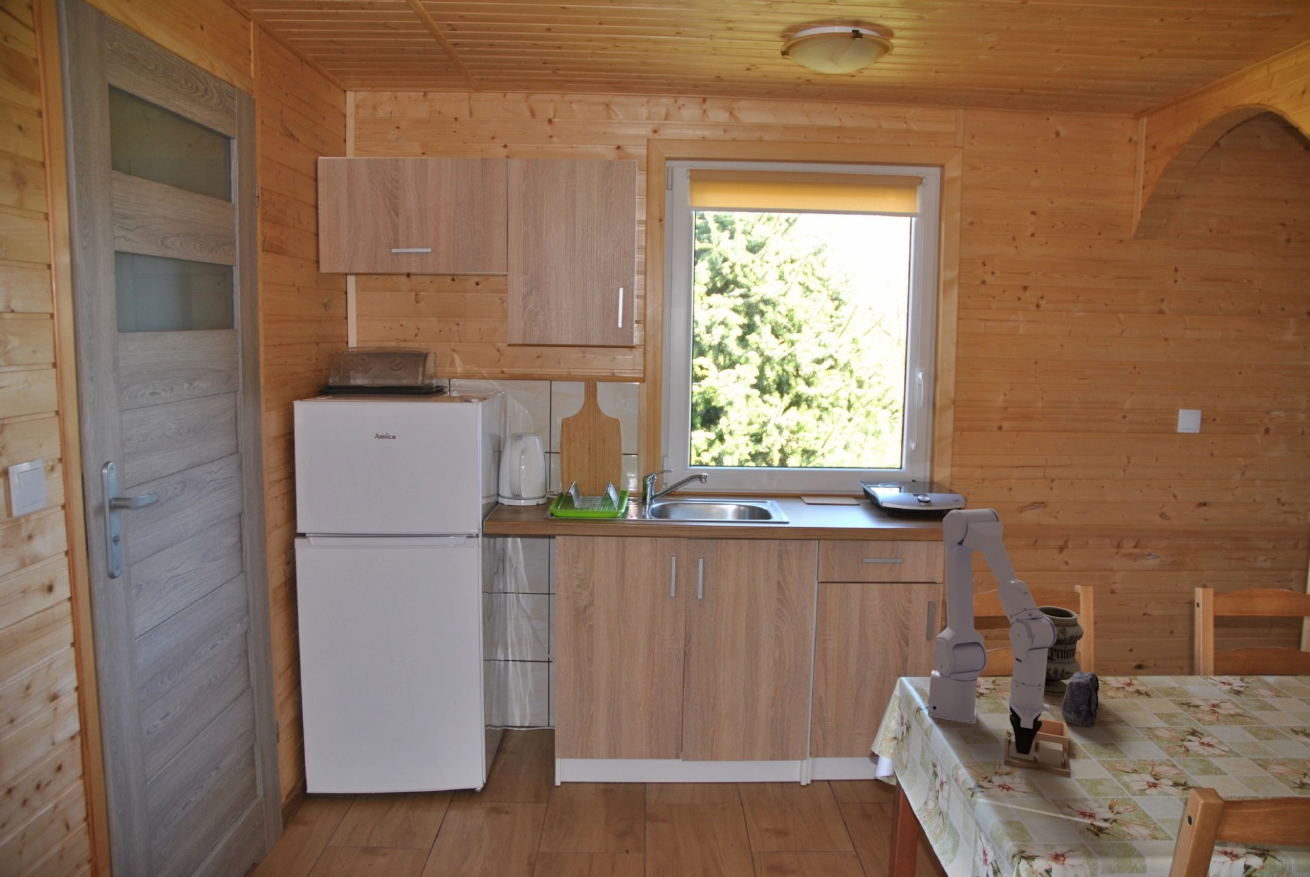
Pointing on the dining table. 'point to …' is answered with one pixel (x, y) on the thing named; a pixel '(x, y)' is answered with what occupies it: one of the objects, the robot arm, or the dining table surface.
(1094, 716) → the rock
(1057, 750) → the stone beige
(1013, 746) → the stone grey
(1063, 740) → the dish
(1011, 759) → the tray
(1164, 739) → the dining table surface
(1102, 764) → the dining table surface
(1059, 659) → the apothecary jar
